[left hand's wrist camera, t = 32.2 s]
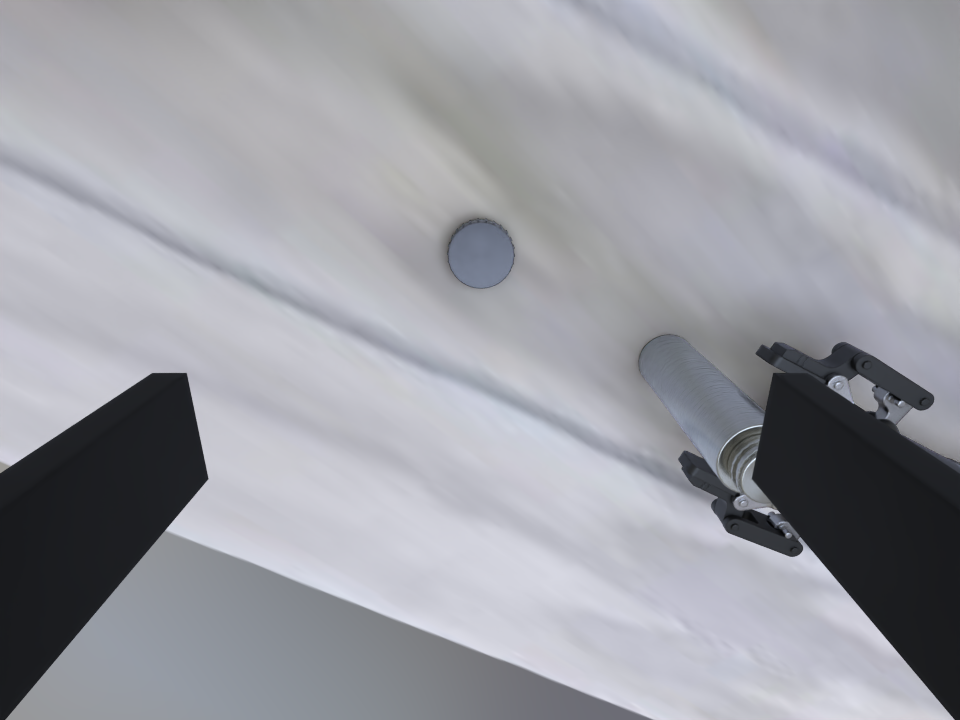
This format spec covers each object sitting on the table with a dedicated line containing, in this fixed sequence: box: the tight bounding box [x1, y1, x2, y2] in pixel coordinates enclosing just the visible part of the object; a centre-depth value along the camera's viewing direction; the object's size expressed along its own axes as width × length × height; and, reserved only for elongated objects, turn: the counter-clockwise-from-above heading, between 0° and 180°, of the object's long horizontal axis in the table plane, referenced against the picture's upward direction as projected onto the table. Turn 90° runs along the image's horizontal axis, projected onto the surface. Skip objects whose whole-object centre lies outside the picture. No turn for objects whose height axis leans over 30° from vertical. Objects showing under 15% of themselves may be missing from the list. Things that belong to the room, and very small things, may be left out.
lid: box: [447, 218, 515, 288], centre depth 37 cm, size 4×4×2 cm
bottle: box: [639, 335, 771, 504], centre depth 33 cm, size 4×4×16 cm
